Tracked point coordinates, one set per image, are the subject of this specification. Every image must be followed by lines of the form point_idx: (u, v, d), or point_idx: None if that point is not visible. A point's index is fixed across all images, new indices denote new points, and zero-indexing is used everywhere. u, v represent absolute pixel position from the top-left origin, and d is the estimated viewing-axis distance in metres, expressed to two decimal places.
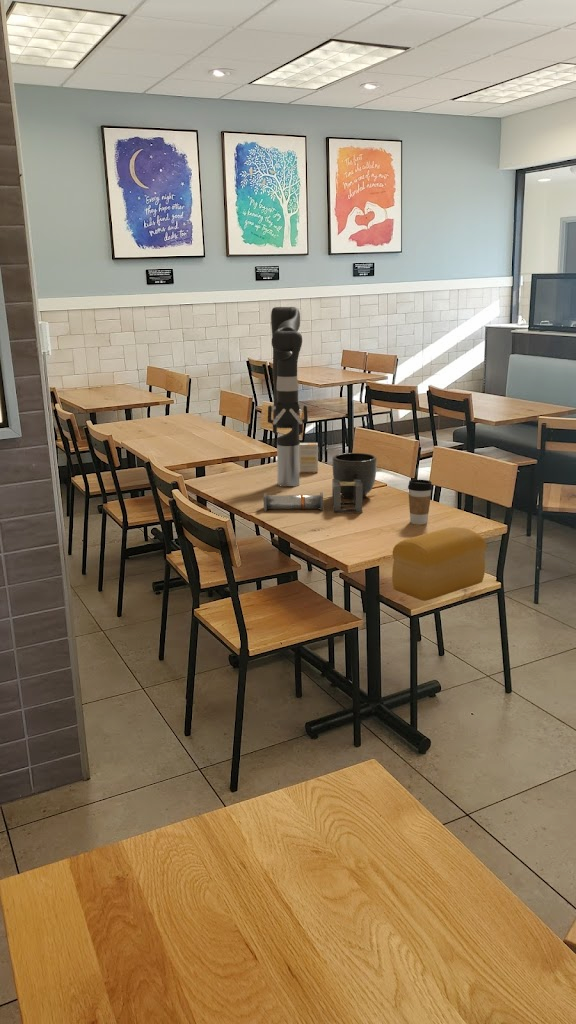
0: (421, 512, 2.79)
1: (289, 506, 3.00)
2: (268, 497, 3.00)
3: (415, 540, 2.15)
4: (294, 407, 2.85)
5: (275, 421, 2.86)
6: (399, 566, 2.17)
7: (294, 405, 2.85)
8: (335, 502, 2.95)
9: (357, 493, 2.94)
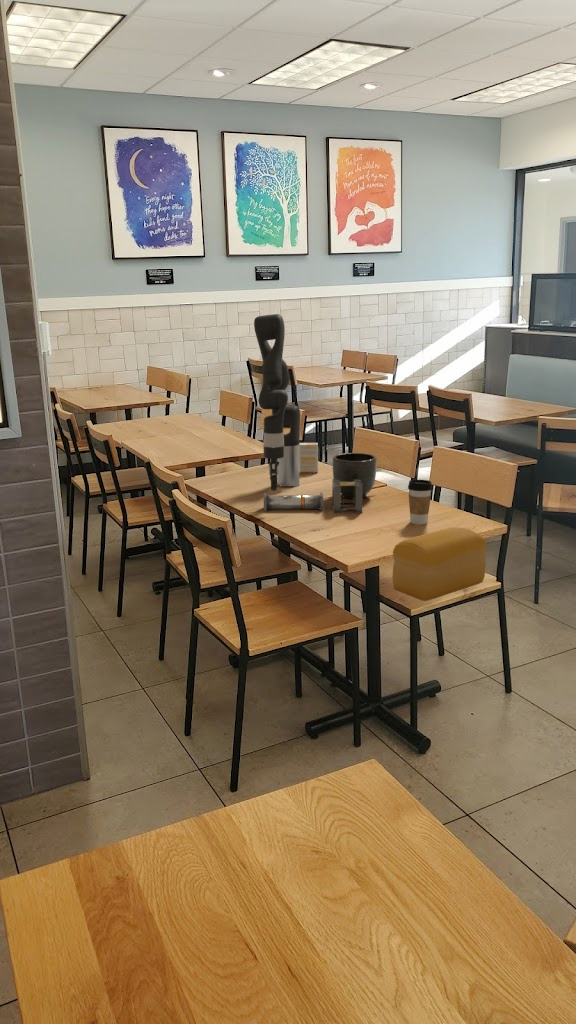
0: (421, 512, 2.79)
1: (289, 506, 3.00)
2: (268, 497, 3.00)
3: (415, 540, 2.15)
4: None
5: None
6: (400, 566, 2.17)
7: None
8: (335, 502, 2.95)
9: (357, 493, 2.94)
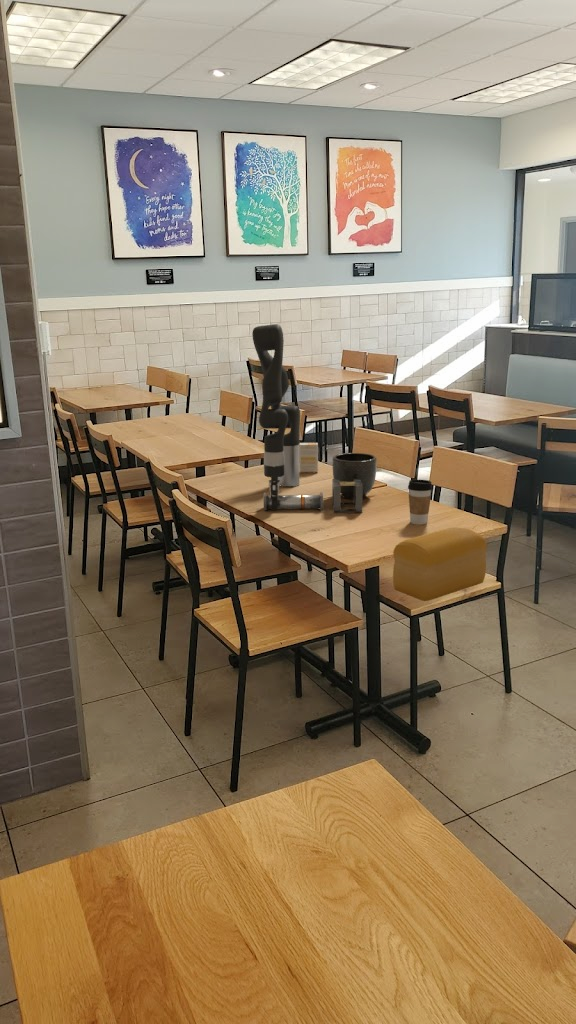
0: (421, 512, 2.79)
1: (289, 506, 3.00)
2: (268, 497, 3.00)
3: (416, 540, 2.15)
4: None
5: None
6: (400, 566, 2.17)
7: None
8: (335, 502, 2.95)
9: (357, 493, 2.94)
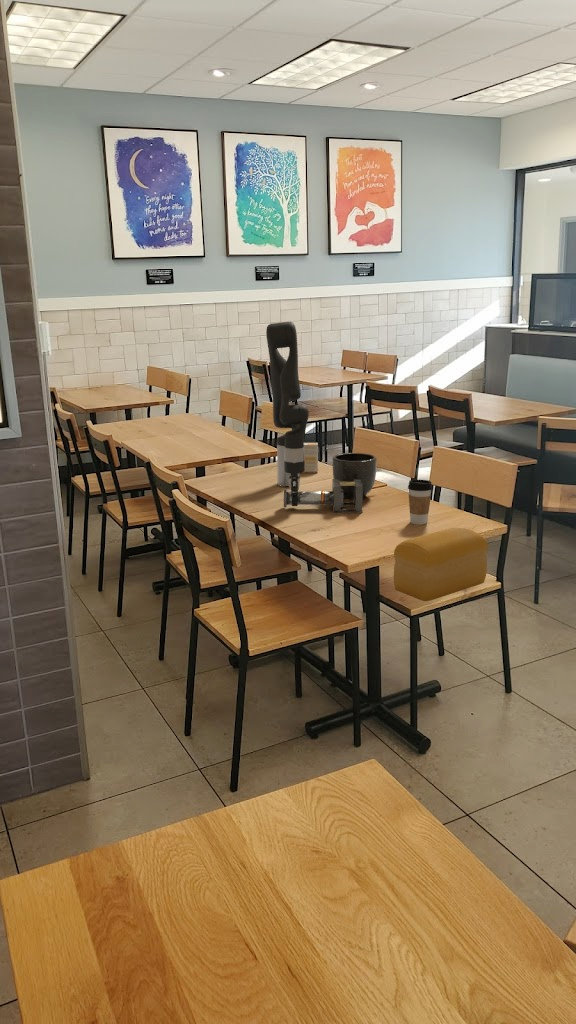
0: (421, 512, 2.79)
1: (309, 502, 2.99)
2: (288, 493, 2.99)
3: (417, 540, 2.15)
4: None
5: None
6: (401, 566, 2.17)
7: None
8: (335, 502, 2.95)
9: (357, 493, 2.94)
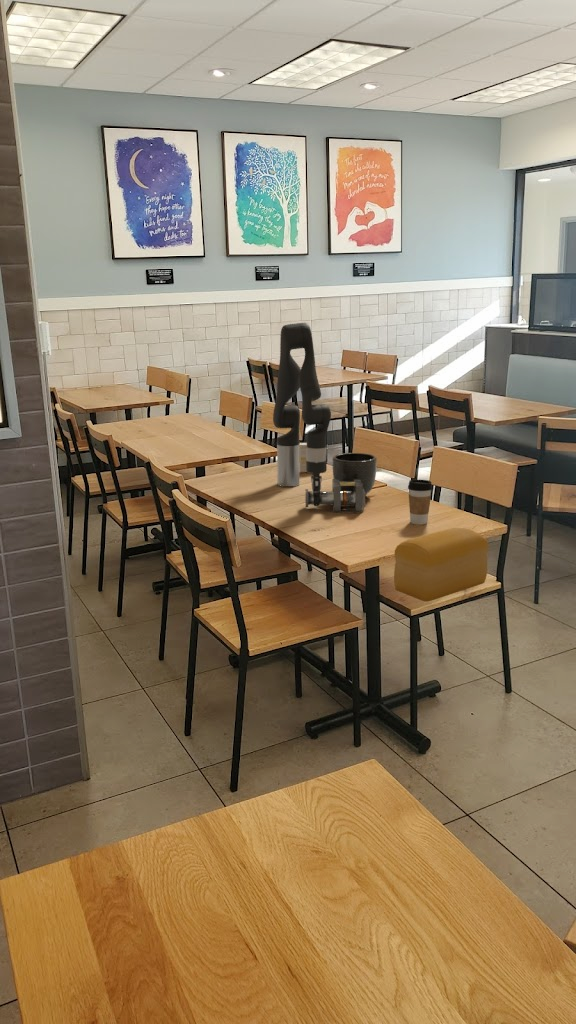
0: (421, 512, 2.79)
1: (331, 502, 2.99)
2: (310, 493, 2.99)
3: (417, 541, 2.14)
4: None
5: None
6: (401, 566, 2.17)
7: None
8: (335, 502, 2.95)
9: (357, 493, 2.94)
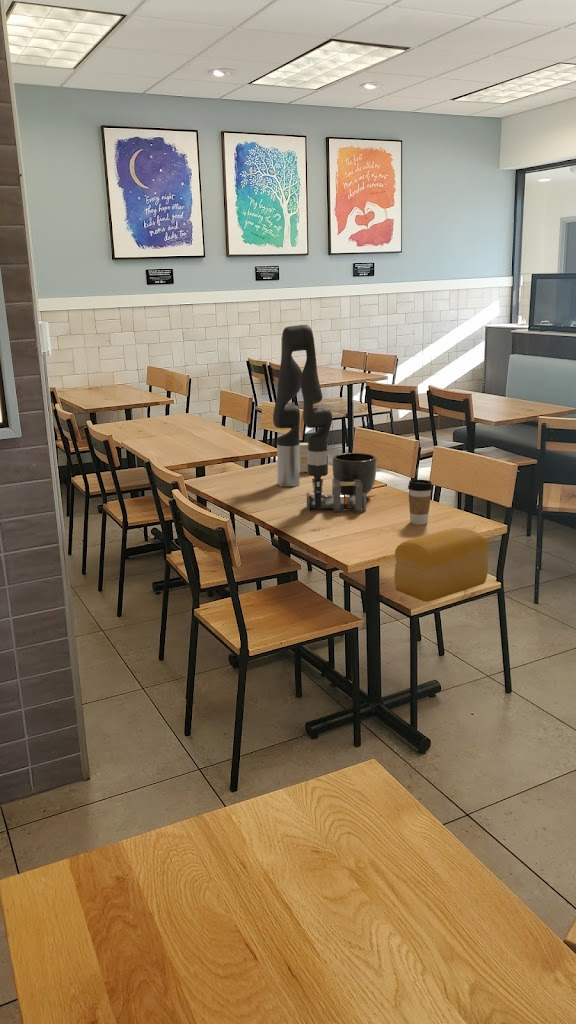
0: (421, 512, 2.79)
1: (332, 506, 3.00)
2: (311, 497, 3.00)
3: (417, 541, 2.14)
4: None
5: None
6: (401, 566, 2.17)
7: None
8: (335, 502, 2.95)
9: (357, 493, 2.94)
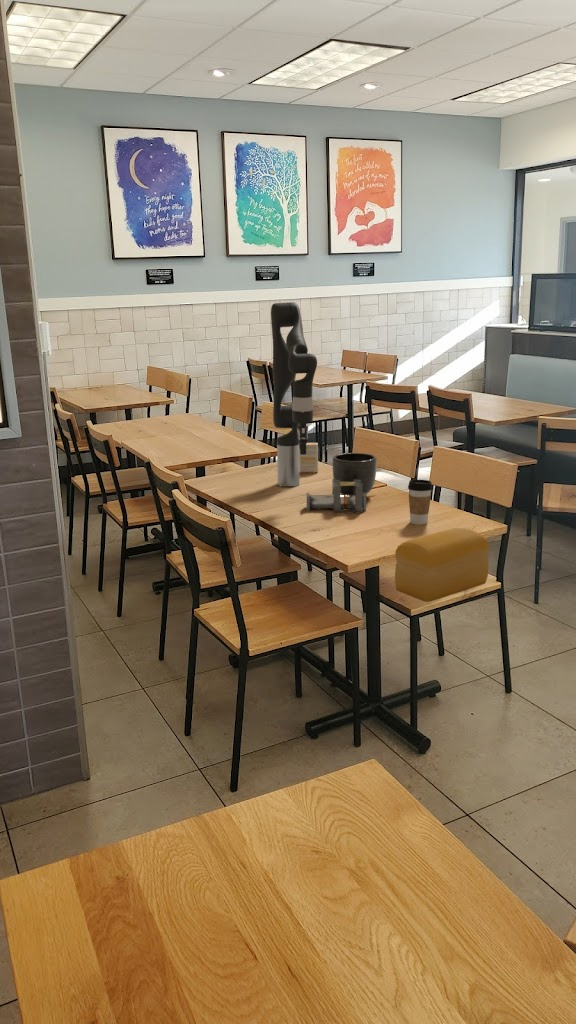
0: (421, 512, 2.79)
1: (332, 506, 3.00)
2: (311, 497, 3.00)
3: (418, 541, 2.14)
4: None
5: None
6: (402, 567, 2.17)
7: None
8: (335, 502, 2.95)
9: (357, 493, 2.94)
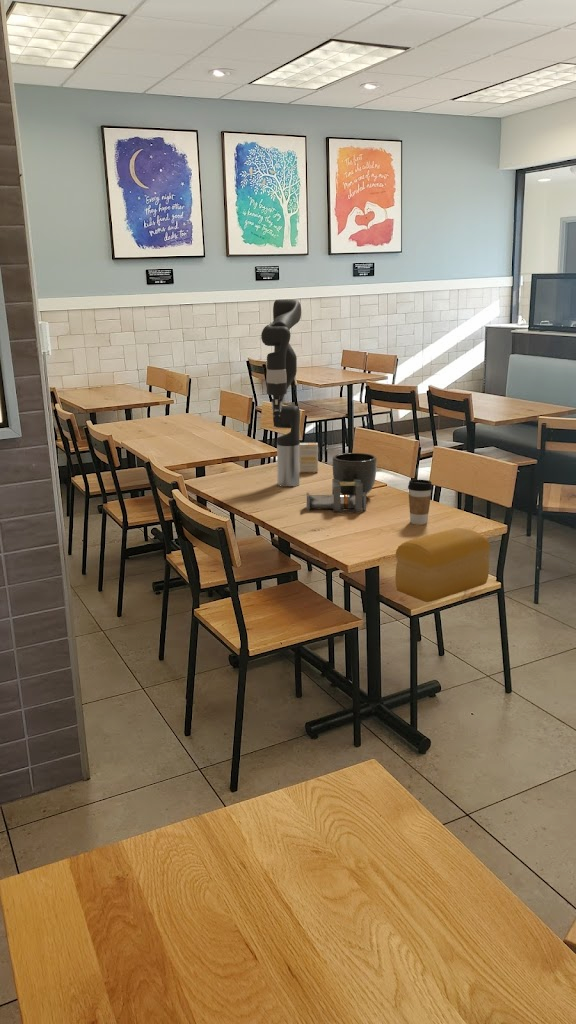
0: (421, 512, 2.79)
1: (332, 506, 3.00)
2: (311, 497, 3.00)
3: (418, 541, 2.14)
4: None
5: None
6: (402, 567, 2.17)
7: None
8: (335, 502, 2.95)
9: (357, 493, 2.94)
